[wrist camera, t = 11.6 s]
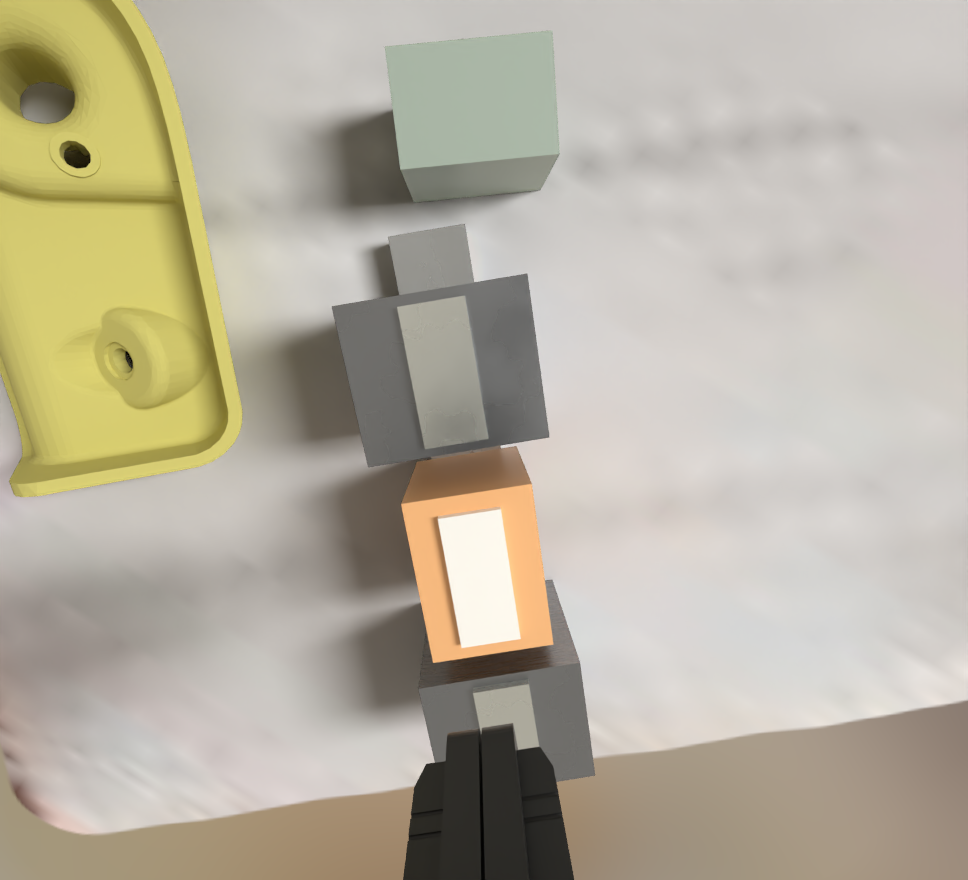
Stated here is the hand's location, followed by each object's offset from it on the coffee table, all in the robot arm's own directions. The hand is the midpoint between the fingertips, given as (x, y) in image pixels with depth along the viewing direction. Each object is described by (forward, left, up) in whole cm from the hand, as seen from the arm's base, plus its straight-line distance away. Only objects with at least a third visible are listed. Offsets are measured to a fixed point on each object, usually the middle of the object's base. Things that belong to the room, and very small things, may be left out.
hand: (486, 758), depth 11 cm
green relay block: (-17, +3, -16) cm, 24 cm away
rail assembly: (-1, 0, -16) cm, 16 cm away
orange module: (0, 0, -14) cm, 14 cm away
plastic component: (-15, -15, -16) cm, 27 cm away
